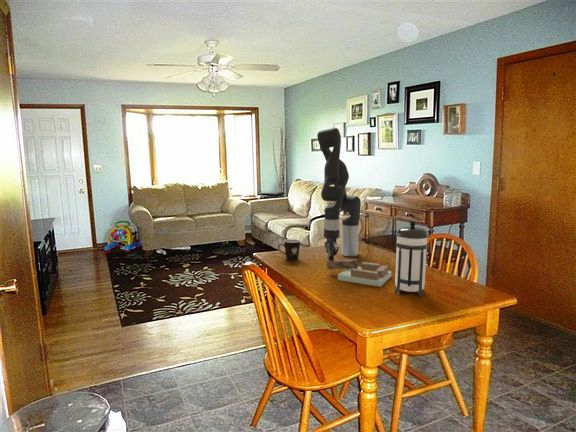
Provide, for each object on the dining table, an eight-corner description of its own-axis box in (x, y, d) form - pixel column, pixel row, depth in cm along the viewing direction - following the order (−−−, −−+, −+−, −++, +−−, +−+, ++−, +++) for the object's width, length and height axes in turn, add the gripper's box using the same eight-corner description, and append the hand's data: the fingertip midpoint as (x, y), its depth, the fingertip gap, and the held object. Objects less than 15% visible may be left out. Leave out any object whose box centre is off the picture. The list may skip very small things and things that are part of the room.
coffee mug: (300, 257, 239) (300, 239, 237) (299, 261, 230) (299, 242, 229) (279, 256, 240) (279, 238, 238) (277, 260, 232) (277, 242, 230)
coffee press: (382, 288, 187) (384, 219, 182) (412, 284, 193) (415, 217, 188) (408, 301, 171) (411, 226, 167) (439, 296, 178) (444, 224, 173)
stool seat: (350, 270, 213) (351, 259, 213) (391, 276, 204) (391, 265, 203) (337, 279, 199) (338, 268, 198) (380, 286, 189) (381, 274, 188)
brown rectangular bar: (356, 265, 212) (356, 258, 211) (358, 267, 209) (359, 260, 208) (326, 267, 208) (327, 260, 208) (329, 269, 205) (329, 262, 205)
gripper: (319, 225, 212) (318, 259, 215) (329, 231, 200) (328, 267, 203) (333, 224, 215) (333, 258, 218) (344, 230, 202) (343, 266, 205)
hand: (331, 262), depth 210 cm, fingers closed
